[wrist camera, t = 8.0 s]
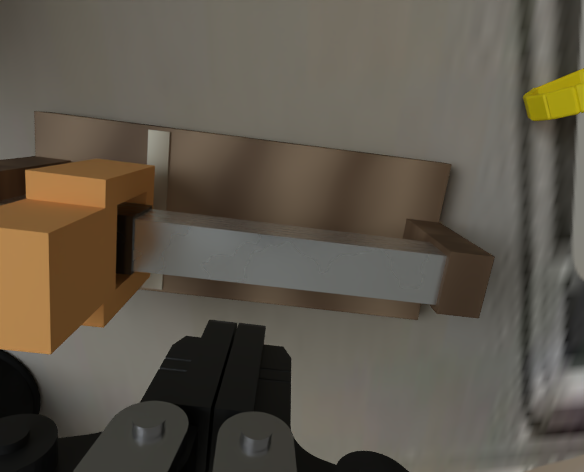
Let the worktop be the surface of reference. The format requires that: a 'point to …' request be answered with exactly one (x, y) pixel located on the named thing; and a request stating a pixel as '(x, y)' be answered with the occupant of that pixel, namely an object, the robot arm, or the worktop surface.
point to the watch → (556, 98)
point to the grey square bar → (274, 255)
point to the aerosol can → (16, 388)
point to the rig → (275, 200)
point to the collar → (66, 251)
